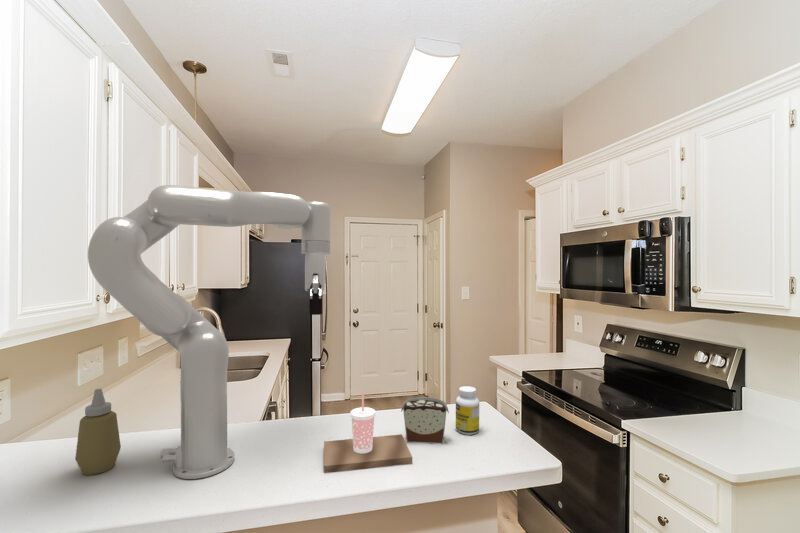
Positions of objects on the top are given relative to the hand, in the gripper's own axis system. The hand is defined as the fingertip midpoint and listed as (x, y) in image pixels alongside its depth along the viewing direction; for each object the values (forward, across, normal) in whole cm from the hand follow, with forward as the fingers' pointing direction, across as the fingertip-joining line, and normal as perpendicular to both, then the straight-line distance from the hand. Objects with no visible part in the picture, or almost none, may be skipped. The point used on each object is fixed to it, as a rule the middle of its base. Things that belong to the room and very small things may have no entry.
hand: (316, 312), depth 102 cm
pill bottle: (+34, +5, +41) cm, 53 cm away
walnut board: (+33, +13, +12) cm, 38 cm away
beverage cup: (+32, +13, +11) cm, 36 cm away
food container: (+34, +7, +28) cm, 44 cm away
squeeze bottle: (+34, +7, -48) cm, 59 cm away
